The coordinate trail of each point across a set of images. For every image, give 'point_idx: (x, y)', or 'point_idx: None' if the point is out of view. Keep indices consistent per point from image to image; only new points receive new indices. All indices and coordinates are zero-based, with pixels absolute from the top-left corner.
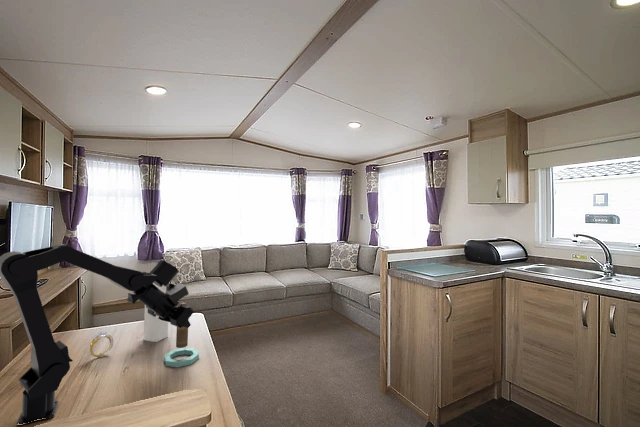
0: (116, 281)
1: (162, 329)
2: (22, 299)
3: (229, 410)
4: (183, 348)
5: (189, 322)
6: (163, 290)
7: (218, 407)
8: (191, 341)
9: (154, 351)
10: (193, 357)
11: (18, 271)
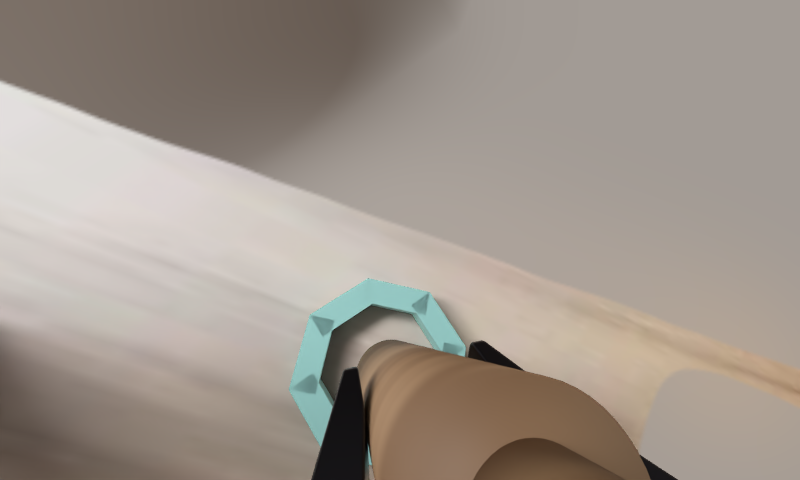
0: None
1: None
2: None
3: (793, 370)
4: (310, 329)
5: (518, 366)
6: None
7: (772, 390)
8: (198, 235)
9: (155, 466)
10: (451, 329)
11: None
